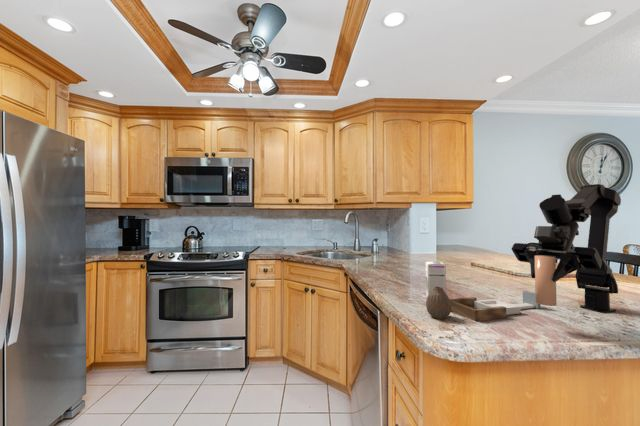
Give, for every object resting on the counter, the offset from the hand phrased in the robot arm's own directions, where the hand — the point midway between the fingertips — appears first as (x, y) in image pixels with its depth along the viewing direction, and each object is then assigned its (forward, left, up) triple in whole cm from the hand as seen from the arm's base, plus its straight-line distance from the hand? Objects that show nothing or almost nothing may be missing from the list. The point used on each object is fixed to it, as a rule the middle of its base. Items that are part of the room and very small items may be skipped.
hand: (542, 279), depth 75 cm
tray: (-8, -16, -13) cm, 22 cm away
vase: (+20, -16, -14) cm, 29 cm away
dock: (+6, -16, -13) cm, 22 cm away
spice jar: (-1, 0, -7) cm, 7 cm away
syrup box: (+13, -26, -14) cm, 32 cm away
